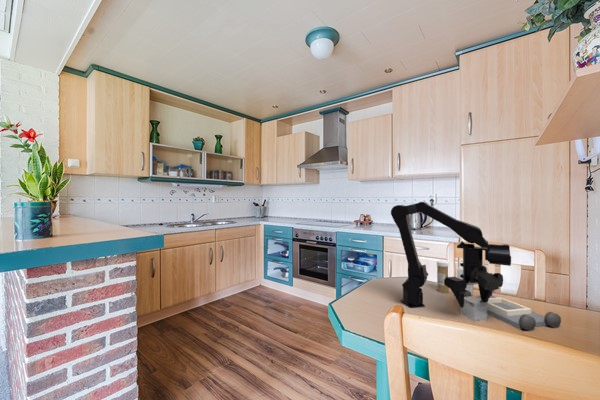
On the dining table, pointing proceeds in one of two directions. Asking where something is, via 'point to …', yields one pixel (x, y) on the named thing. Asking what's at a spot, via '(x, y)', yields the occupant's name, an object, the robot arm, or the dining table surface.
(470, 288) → the small box
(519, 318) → the chassis
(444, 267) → the sprinkles bottle
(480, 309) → the block
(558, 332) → the dining table surface
